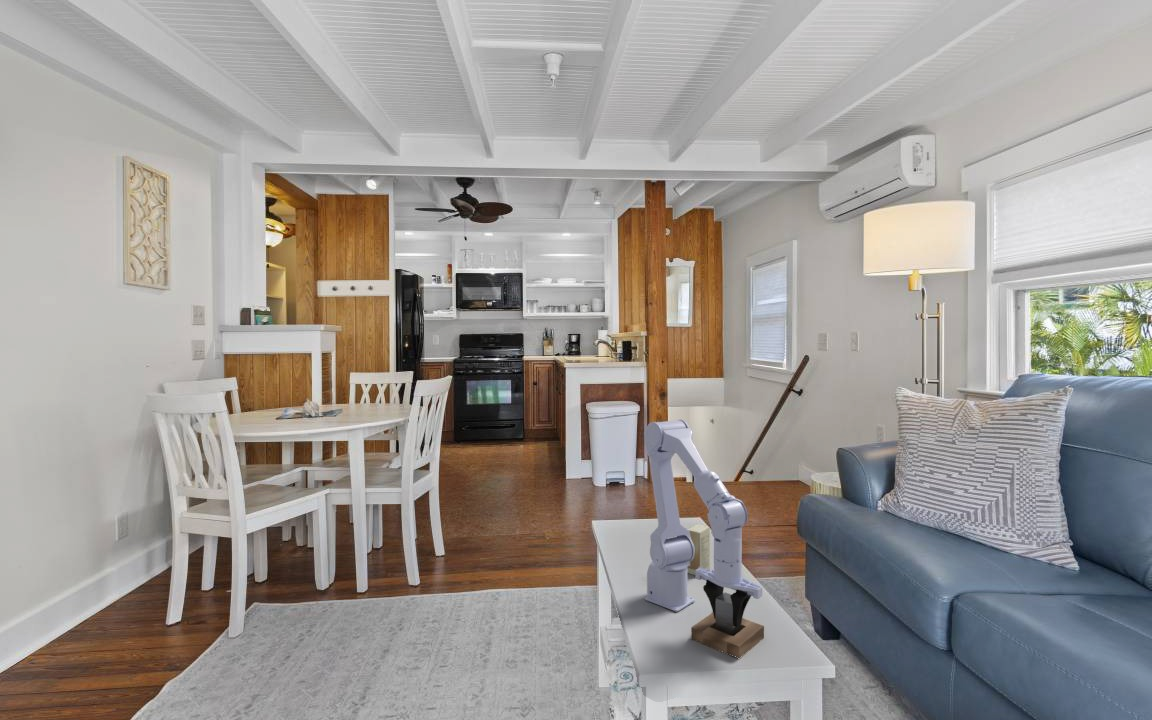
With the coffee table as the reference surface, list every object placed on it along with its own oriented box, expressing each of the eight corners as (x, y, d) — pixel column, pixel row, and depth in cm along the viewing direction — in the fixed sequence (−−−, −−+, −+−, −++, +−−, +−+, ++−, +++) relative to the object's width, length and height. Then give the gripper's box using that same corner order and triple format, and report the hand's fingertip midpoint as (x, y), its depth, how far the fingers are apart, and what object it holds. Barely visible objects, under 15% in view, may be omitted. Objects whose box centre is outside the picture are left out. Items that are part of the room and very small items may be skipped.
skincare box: (696, 566, 155) (696, 523, 155) (710, 569, 152) (710, 526, 152) (685, 573, 150) (685, 529, 150) (700, 577, 147) (699, 532, 147)
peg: (715, 630, 116) (715, 598, 116) (724, 624, 119) (724, 592, 119) (732, 637, 114) (732, 604, 114) (741, 630, 117) (741, 598, 117)
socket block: (691, 638, 116) (691, 627, 116) (717, 620, 124) (717, 609, 124) (739, 659, 108) (739, 646, 108) (763, 637, 116) (764, 626, 116)
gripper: (768, 561, 114) (768, 625, 114) (707, 544, 124) (707, 603, 124) (753, 571, 109) (753, 639, 109) (690, 553, 119) (690, 614, 119)
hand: (727, 621), depth 116 cm, fingers closed on peg, 4 cm apart
